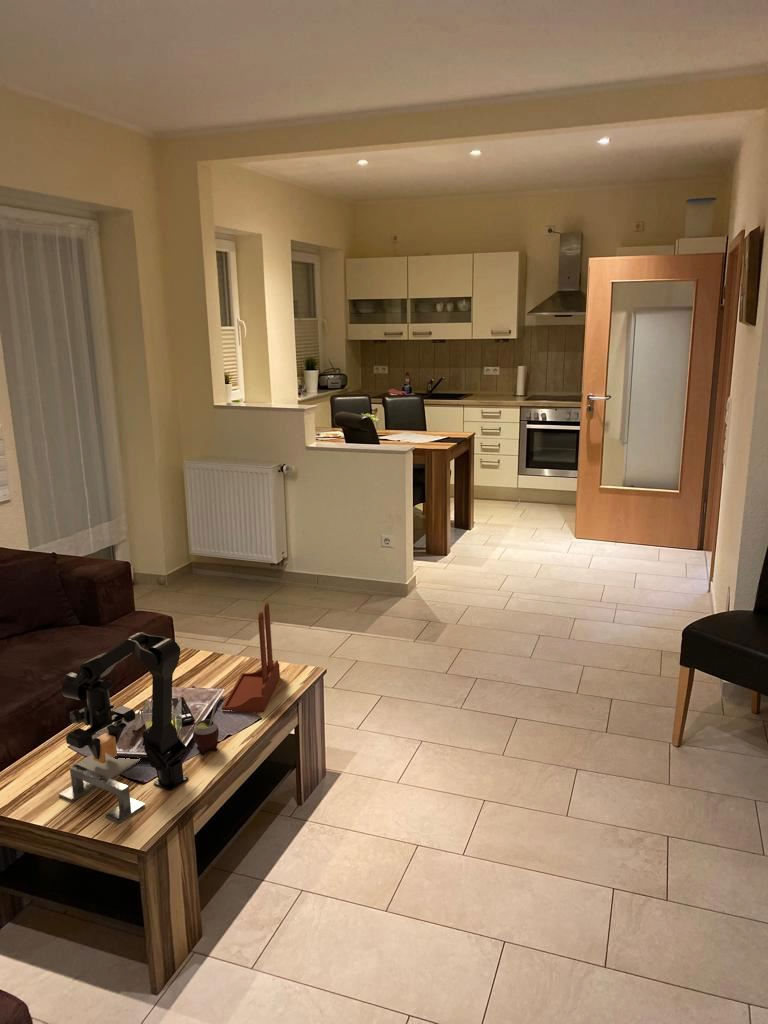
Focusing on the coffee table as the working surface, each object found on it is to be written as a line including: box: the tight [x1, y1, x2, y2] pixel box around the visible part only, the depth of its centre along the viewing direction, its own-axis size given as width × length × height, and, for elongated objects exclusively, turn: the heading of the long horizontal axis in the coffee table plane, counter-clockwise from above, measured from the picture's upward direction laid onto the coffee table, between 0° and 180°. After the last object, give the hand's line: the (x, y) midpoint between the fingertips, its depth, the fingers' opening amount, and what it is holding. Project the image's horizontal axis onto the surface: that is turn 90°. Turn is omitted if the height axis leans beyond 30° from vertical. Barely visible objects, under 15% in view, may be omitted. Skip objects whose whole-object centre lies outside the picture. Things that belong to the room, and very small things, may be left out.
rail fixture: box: [58, 763, 146, 825], centre depth 195 cm, size 23×8×7 cm, turn 58°
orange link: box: [93, 732, 118, 764], centre depth 211 cm, size 4×5×6 cm
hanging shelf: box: [221, 602, 281, 713], centre depth 248 cm, size 24×13×30 cm, turn 176°
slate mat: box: [71, 753, 141, 779], centre depth 212 cm, size 14×12×1 cm
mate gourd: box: [192, 695, 223, 756], centre depth 217 cm, size 8×8×15 cm
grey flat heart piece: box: [130, 709, 141, 726], centre depth 230 cm, size 7×2×8 cm, turn 160°
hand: (105, 754), depth 212 cm, fingers closed on orange link, 5 cm apart
